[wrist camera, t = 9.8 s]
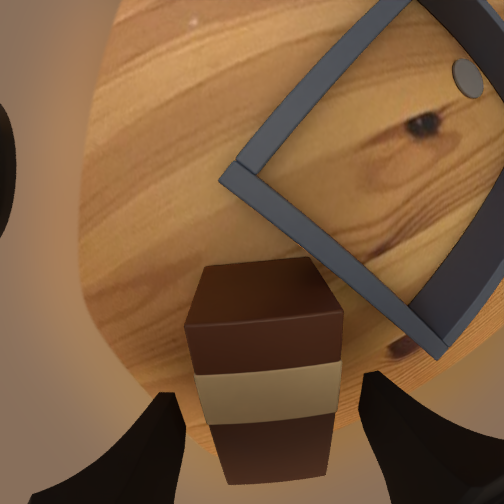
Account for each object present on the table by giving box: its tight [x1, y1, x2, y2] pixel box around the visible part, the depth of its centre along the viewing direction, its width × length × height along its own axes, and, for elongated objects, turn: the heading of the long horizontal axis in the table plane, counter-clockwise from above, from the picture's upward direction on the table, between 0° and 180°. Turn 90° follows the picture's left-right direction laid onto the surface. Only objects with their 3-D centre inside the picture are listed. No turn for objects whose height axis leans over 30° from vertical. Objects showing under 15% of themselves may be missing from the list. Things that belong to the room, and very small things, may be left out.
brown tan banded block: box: [184, 257, 344, 485], centre depth 12 cm, size 5×9×5 cm, turn 5°
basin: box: [218, 0, 504, 361], centre depth 10 cm, size 12×15×4 cm
